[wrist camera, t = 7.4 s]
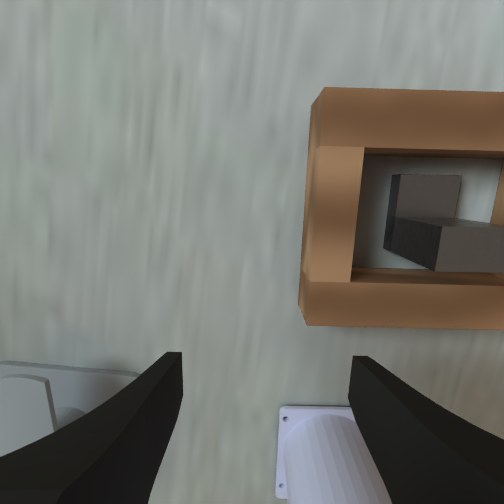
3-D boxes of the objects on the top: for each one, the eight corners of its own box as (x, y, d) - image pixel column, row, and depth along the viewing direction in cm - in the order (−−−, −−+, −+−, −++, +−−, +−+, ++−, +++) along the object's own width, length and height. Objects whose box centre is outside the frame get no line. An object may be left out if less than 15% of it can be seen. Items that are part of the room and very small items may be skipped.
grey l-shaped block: (437, 248, 21) (509, 272, 15) (382, 247, 21) (434, 271, 15) (449, 176, 20) (533, 170, 14) (392, 175, 20) (452, 169, 14)
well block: (504, 308, 22) (551, 330, 18) (298, 303, 22) (306, 325, 18) (551, 112, 19) (618, 95, 15) (311, 105, 18) (324, 87, 15)
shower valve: (120, 389, 17) (118, 563, 21) (150, 342, 23) (145, 486, 26) (-84, 371, 17) (-52, 550, 20) (-5, 327, 22) (10, 475, 26)
